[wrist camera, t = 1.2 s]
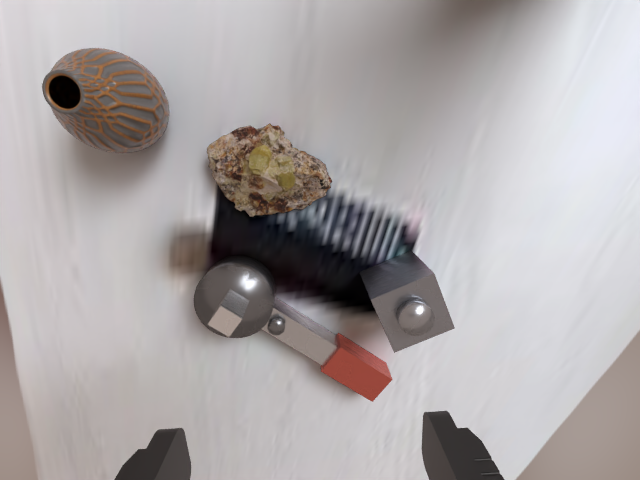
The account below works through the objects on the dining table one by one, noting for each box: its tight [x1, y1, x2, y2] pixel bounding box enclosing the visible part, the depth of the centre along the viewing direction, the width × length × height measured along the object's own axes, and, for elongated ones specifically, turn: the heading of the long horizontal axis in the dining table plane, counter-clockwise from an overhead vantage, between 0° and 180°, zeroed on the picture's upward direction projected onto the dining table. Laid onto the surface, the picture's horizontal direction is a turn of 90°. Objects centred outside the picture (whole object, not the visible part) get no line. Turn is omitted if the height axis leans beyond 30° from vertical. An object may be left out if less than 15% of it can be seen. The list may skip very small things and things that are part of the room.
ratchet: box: [194, 255, 392, 402], centre depth 30 cm, size 7×21×6 cm, turn 54°
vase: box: [42, 48, 169, 153], centre depth 23 cm, size 7×7×9 cm
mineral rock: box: [207, 124, 332, 217], centre depth 28 cm, size 11×4×8 cm
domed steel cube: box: [359, 250, 454, 353], centre depth 29 cm, size 5×5×7 cm
